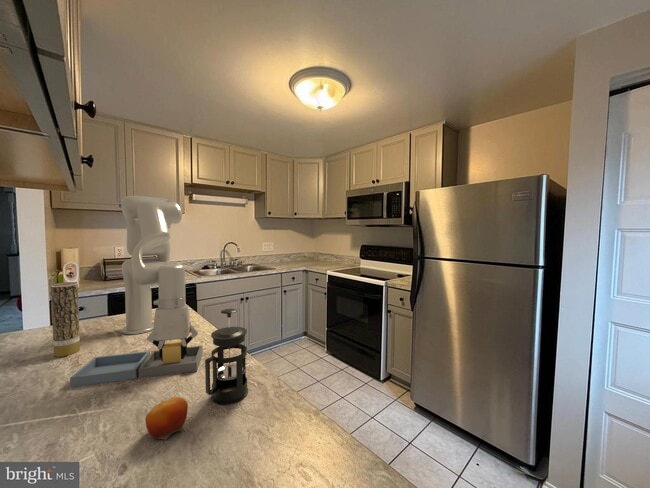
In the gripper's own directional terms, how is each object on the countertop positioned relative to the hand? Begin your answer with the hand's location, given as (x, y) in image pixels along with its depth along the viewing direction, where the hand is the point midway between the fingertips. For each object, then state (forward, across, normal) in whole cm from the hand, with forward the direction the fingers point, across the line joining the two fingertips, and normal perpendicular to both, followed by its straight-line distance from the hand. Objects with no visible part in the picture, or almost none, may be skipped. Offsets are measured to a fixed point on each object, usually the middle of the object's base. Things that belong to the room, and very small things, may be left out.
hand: (173, 357), depth 89 cm
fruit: (+3, +6, -32) cm, 33 cm away
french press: (+3, +18, -22) cm, 28 cm away
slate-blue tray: (+3, -16, 0) cm, 17 cm away
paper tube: (+3, -38, +20) cm, 43 cm away
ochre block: (0, 0, 0) cm, 0 cm away
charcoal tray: (+3, 0, 0) cm, 3 cm away
